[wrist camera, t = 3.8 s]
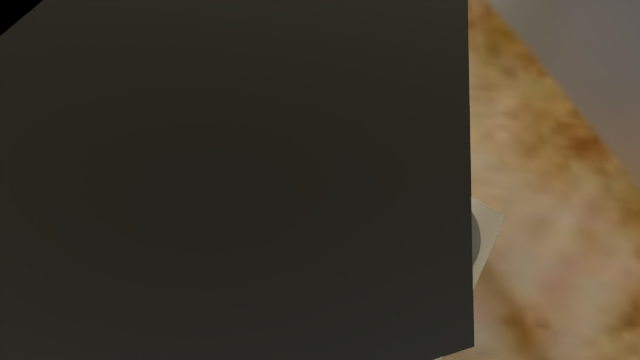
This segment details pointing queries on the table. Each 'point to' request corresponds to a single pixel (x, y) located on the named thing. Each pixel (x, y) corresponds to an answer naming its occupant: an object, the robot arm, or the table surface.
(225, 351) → the folding leg
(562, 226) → the table surface
